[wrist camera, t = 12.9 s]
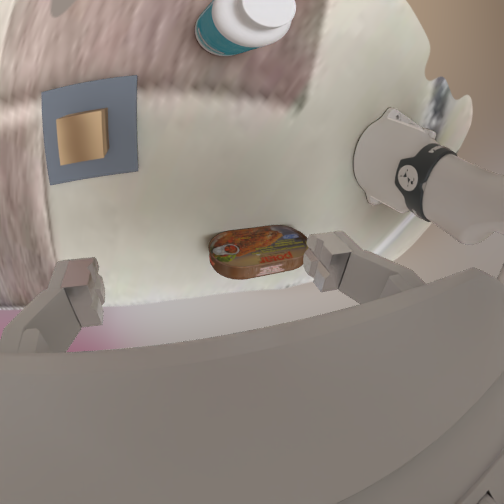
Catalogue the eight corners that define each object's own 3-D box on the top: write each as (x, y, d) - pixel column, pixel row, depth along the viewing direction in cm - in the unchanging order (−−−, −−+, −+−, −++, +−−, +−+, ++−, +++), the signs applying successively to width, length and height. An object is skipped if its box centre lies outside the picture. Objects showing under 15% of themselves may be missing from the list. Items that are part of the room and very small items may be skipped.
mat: (137, 75, 25) (137, 75, 24) (138, 169, 32) (138, 171, 31) (43, 92, 21) (41, 92, 20) (52, 183, 28) (50, 185, 27)
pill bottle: (243, 63, 29) (297, 55, 18) (185, 49, 25) (211, 27, 15) (260, 15, 25) (319, -10, 15) (204, -1, 22) (240, -43, 11)
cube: (107, 107, 25) (101, 110, 21) (109, 147, 28) (103, 157, 24) (68, 114, 24) (56, 119, 20) (71, 154, 26) (60, 165, 23)
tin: (294, 222, 45) (321, 250, 39) (291, 239, 47) (317, 267, 41) (202, 233, 40) (217, 267, 34) (203, 251, 42) (217, 286, 36)
